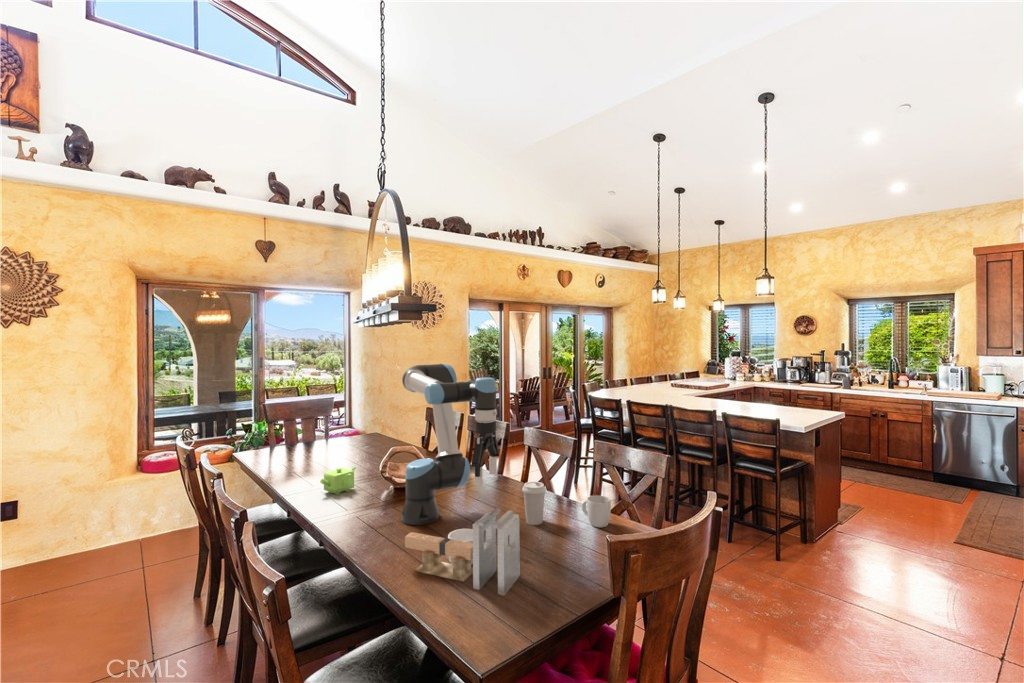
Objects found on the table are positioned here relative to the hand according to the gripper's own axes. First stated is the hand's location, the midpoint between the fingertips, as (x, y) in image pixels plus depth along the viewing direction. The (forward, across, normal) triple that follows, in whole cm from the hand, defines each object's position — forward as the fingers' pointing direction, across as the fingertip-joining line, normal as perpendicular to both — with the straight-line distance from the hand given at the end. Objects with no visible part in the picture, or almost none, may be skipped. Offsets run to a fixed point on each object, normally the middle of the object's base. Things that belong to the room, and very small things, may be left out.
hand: (486, 479), depth 168 cm
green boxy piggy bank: (+24, +30, +89) cm, 97 cm away
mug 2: (+23, +30, -34) cm, 51 cm away
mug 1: (+23, -12, +2) cm, 26 cm away
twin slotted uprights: (+23, -24, -14) cm, 36 cm away
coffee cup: (+23, +23, -11) cm, 35 cm away
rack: (+23, -23, +4) cm, 33 cm away
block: (+15, -23, +6) cm, 28 cm away
